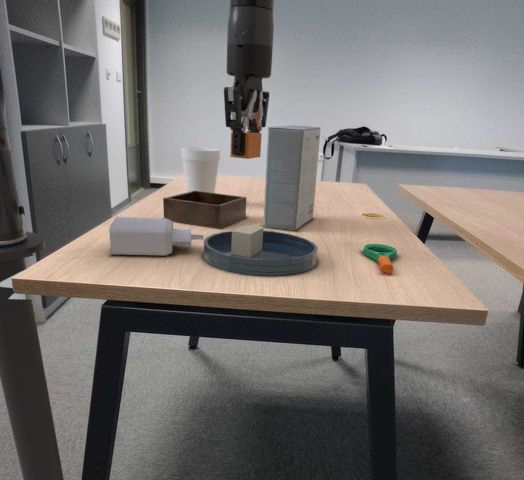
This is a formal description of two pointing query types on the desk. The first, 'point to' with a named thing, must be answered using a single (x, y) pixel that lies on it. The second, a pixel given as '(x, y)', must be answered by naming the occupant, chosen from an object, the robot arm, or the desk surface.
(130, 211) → the desk surface
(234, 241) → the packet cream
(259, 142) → the orange block
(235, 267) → the dark blue round tray
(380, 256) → the magnifying glass
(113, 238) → the charger
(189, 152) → the foam cup
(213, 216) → the holder
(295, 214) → the hard drive box
